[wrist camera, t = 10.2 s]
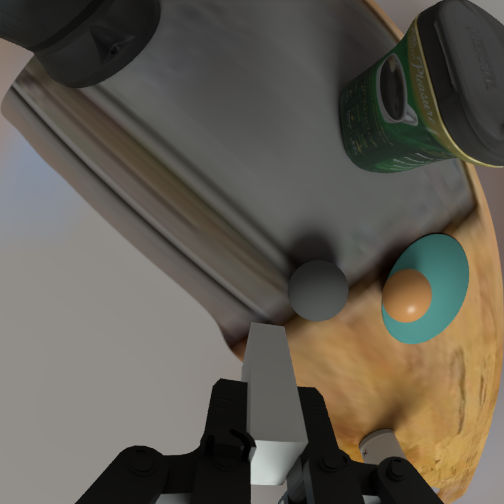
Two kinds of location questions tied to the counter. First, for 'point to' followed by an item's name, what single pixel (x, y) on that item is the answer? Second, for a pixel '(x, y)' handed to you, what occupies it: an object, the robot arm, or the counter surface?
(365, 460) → the travel mug
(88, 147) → the counter surface
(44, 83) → the counter surface
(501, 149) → the coffee jar
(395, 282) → the orange ball
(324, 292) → the dark gray ball
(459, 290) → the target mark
